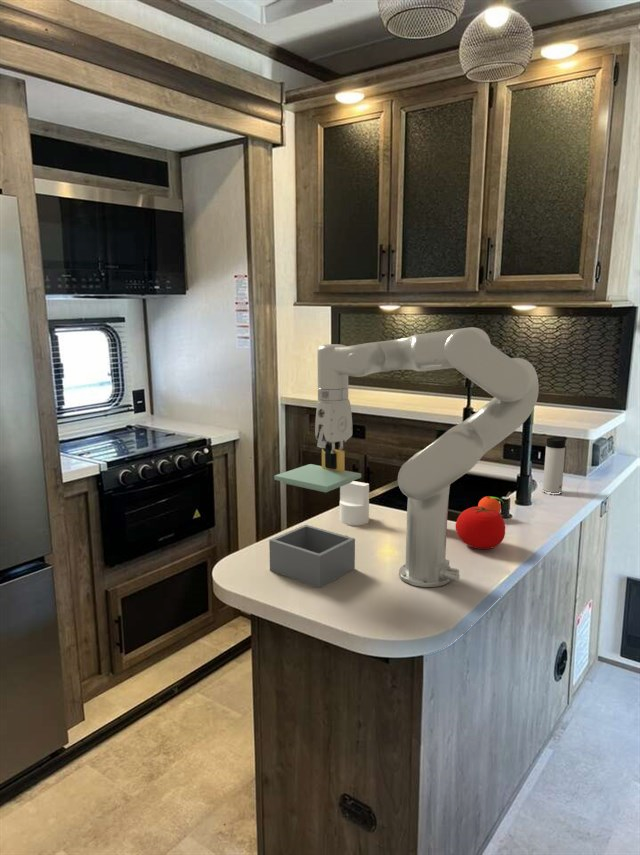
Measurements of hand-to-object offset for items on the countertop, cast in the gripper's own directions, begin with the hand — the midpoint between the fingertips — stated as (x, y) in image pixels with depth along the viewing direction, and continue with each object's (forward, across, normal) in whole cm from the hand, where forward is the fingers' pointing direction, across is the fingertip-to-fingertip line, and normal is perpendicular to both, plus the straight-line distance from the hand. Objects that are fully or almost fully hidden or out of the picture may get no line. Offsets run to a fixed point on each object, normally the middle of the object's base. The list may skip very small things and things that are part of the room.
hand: (333, 467), depth 156 cm
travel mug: (+26, +95, -26) cm, 101 cm away
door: (+3, -6, 0) cm, 7 cm away
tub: (+25, -8, +1) cm, 26 cm away
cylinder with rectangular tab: (+25, +28, +13) cm, 40 cm away
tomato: (+26, +33, -26) cm, 49 cm away
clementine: (+26, +56, -20) cm, 64 cm away
